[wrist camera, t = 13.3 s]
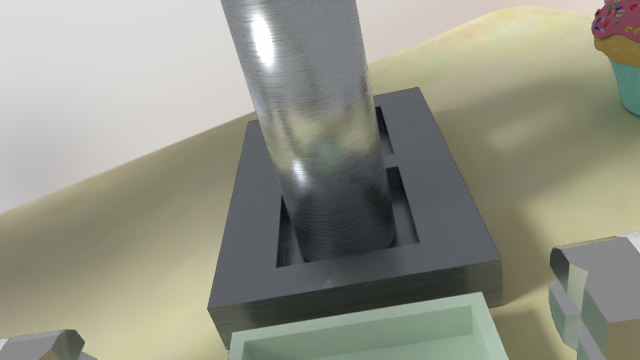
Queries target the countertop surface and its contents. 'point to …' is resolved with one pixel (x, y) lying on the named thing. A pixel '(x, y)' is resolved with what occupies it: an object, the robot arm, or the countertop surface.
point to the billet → (317, 120)
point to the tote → (382, 334)
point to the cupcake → (621, 46)
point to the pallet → (365, 268)
